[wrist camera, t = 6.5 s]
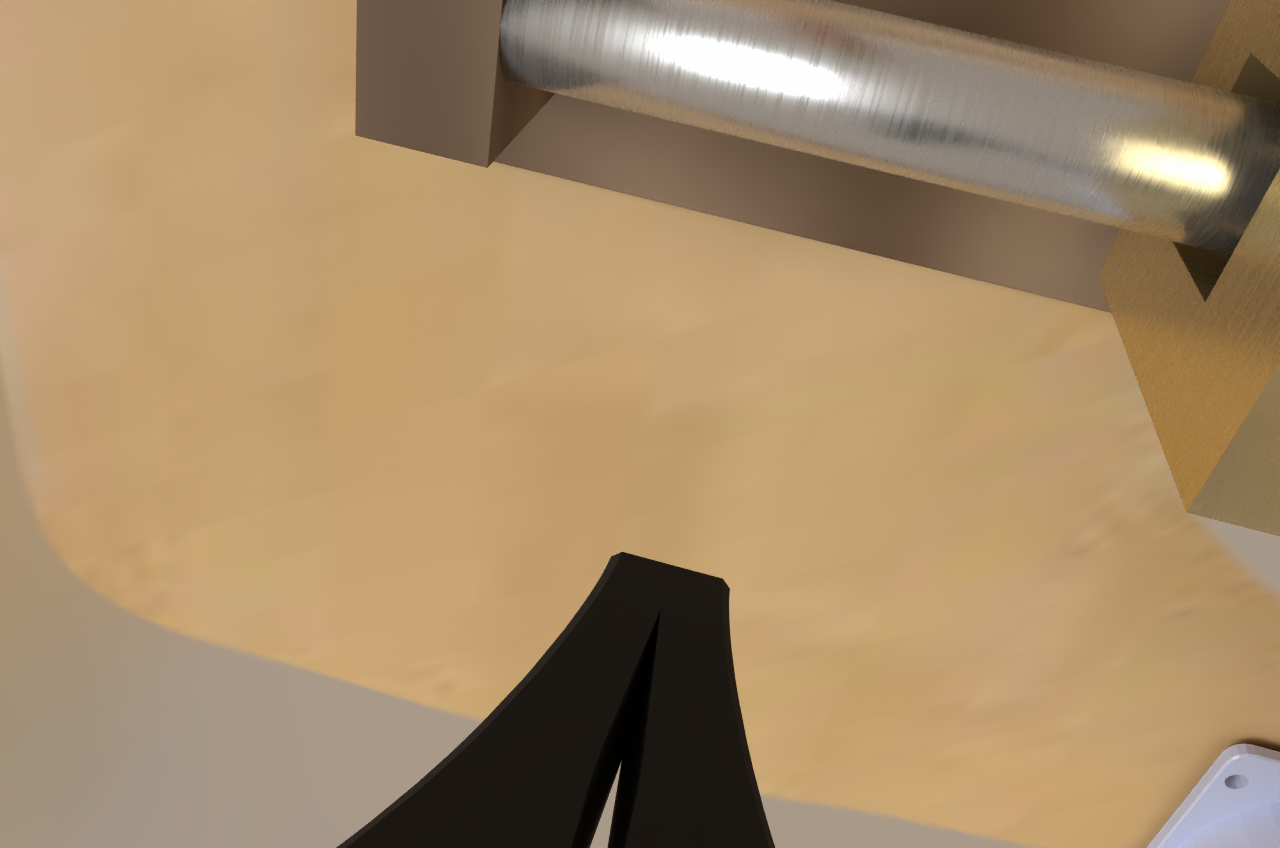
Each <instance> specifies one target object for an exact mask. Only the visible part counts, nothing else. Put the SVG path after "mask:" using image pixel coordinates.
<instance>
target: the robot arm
mask: <svg viewBox="0 0 1280 848" xmlns="http://www.w3.org/2000/svg"><path fill="white" fill-rule="evenodd" d="M729 592H730V588H729V587H728V585H727V584H726V583H725V581H724V580H723V579H721V578H718V577H714V576H710V575H707V574H703V573H699V572H695V571H692V570H688V569H684V568H681V567H677V566H673V565H669V564H666V563H662V562H658V561H654V560H651V559H647V558H643V557H640V556H636V555H632V554H628V553H625V552H621V553H619V554H616V555H614V556H611V558H610V560H609V562H608V564H607V566H606V568H605V570H604V572H603V574H602V576H601V577H600V579H599V581H598V582H597V584H596V586H595V587H594V589H593V590H592V592H591V593H590V595H589V596H588V598H587V599H586V601H585V602H584V604H583V605H582V606H581V608H580V609H579V610H578V612H577V613H576V614H575V616H574V617H573V619H572V620H571V621H570V623H569V624H568V625H567V627H566V628H565V629H564V631H563V632H562V633H561V634H560V635H559V637H558V638H557V639H556V640H555V642H554V643H553V644H552V645H551V646H550V648H549V649H548V650H547V651H546V652H545V654H544V655H543V656H542V657H541V659H540V660H539V661H538V662H537V663H536V665H535V666H534V667H533V668H532V669H531V671H530V672H529V673H528V674H527V675H526V676H525V677H524V679H523V680H522V681H521V682H520V683H519V684H518V685H517V686H516V687H515V688H514V689H513V690H512V691H511V692H510V693H509V695H508V696H507V697H506V698H505V699H504V700H503V701H502V702H501V703H500V704H499V705H498V706H497V707H496V708H495V709H494V710H493V712H492V713H491V714H490V715H489V716H488V717H487V718H486V719H485V720H484V721H483V722H482V723H481V724H480V725H479V726H478V727H477V728H476V729H475V730H474V731H473V732H472V733H471V734H470V735H469V736H468V737H467V738H466V739H465V740H464V741H463V742H462V743H461V744H460V745H459V746H458V747H457V748H455V749H454V750H453V751H452V752H451V753H450V754H449V755H448V756H447V757H446V758H445V759H444V760H442V761H441V762H440V763H439V764H438V765H437V766H436V767H435V768H434V769H432V770H431V771H430V772H429V773H428V774H427V775H426V776H425V777H424V778H422V779H421V780H420V781H419V782H418V783H417V784H415V785H414V786H413V787H412V788H411V789H410V790H408V791H407V792H406V793H405V794H403V795H402V796H401V797H400V798H399V799H397V800H396V801H395V802H394V803H393V804H391V805H390V806H389V807H388V808H386V809H385V810H384V811H383V812H382V813H381V814H379V815H378V816H377V817H376V818H374V819H373V820H372V821H371V822H369V823H368V824H367V825H365V827H363V828H362V829H360V830H359V831H358V832H357V833H355V834H354V835H353V836H351V837H350V838H349V839H347V840H346V841H345V842H344V843H342V844H341V845H339V846H338V847H337V848H590V845H591V843H592V840H593V837H594V834H595V832H596V829H597V826H598V823H599V821H600V818H601V815H602V812H603V810H604V807H605V804H606V801H607V799H608V796H609V793H610V791H611V788H612V785H613V782H614V780H615V777H616V774H617V771H618V768H619V766H620V763H621V769H620V774H619V780H618V787H617V793H616V799H615V805H614V811H613V817H612V824H611V830H610V836H609V843H608V848H775V846H774V843H773V839H772V836H771V833H770V829H769V826H768V822H767V819H766V816H765V812H764V809H763V805H762V801H761V797H760V793H759V790H758V786H757V782H756V778H755V774H754V770H753V766H752V762H751V757H750V753H749V749H748V745H747V740H746V734H745V729H744V724H743V719H742V714H741V709H740V704H739V699H738V693H737V686H736V680H735V674H734V665H733V657H732V649H731V638H730V624H729ZM621 760H622V762H621ZM1232 775H1234V776H1232ZM1146 848H1280V752H1278V751H1274V750H1271V749H1267V748H1263V747H1260V746H1256V745H1252V744H1244V743H1243V744H1235V745H1233V746H1230V747H1228V748H1227V749H1225V750H1224V751H1223V752H1222V753H1221V754H1220V756H1219V757H1218V758H1217V759H1216V761H1215V762H1214V763H1213V764H1212V766H1211V767H1210V768H1209V769H1208V771H1207V772H1206V773H1205V774H1204V776H1203V777H1202V778H1201V779H1200V781H1199V782H1198V783H1197V785H1196V786H1195V787H1194V788H1193V790H1192V791H1191V792H1190V793H1189V795H1188V796H1187V797H1186V798H1185V800H1184V801H1183V802H1182V803H1181V805H1180V806H1179V807H1178V808H1177V810H1176V811H1175V812H1174V813H1173V815H1172V816H1171V817H1170V818H1169V820H1168V821H1167V822H1166V824H1165V825H1164V826H1163V827H1162V829H1161V830H1160V831H1159V832H1158V834H1157V835H1156V836H1155V837H1154V839H1153V840H1152V841H1151V842H1150V844H1149V845H1148V846H1147V847H1146Z"/></svg>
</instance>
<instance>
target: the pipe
mask: <svg viewBox="0 0 1280 848" xmlns="http://www.w3.org/2000/svg"><path fill="white" fill-rule="evenodd" d="M499 57H500V66H501V71H502V74H503V77H504V79H505V80H506V81H507V82H511V83H515V84H519V85H523V86H528V87H532V88H536V89H540V90H544V91H549V92H553V93H557V94H561V95H565V96H569V97H574V98H578V99H582V100H586V101H590V102H594V103H599V104H603V105H607V106H611V107H615V108H619V109H624V110H628V111H632V112H636V113H640V114H645V115H649V116H653V117H657V118H661V119H665V120H670V121H674V122H678V123H682V124H686V125H690V126H695V127H699V128H703V129H707V130H711V131H715V132H720V133H724V134H728V135H732V136H736V137H741V138H745V139H749V140H753V141H757V142H761V143H766V144H770V145H774V146H778V147H782V148H786V149H791V150H795V151H799V152H803V153H807V154H812V155H816V156H820V157H824V158H828V159H832V160H837V161H841V162H845V163H849V164H853V165H857V166H862V167H866V168H870V169H874V170H878V171H882V172H887V173H891V174H895V175H899V176H903V177H908V178H912V179H916V180H920V181H924V182H928V183H933V184H937V185H941V186H945V187H949V188H953V189H958V190H962V191H966V192H970V193H974V194H978V195H983V196H987V197H991V198H995V199H999V200H1004V201H1008V202H1012V203H1016V204H1020V205H1024V206H1029V207H1033V208H1037V209H1041V210H1045V211H1049V212H1054V213H1058V214H1062V215H1066V216H1070V217H1074V218H1079V219H1083V220H1087V221H1091V222H1095V223H1100V224H1104V225H1108V226H1112V227H1116V228H1120V229H1125V230H1129V231H1133V232H1137V233H1141V234H1145V235H1150V236H1154V237H1158V238H1162V239H1166V240H1170V241H1175V242H1179V243H1183V244H1187V245H1191V246H1196V247H1200V248H1204V249H1208V250H1212V251H1216V252H1221V253H1225V254H1229V255H1232V254H1233V252H1234V250H1235V248H1236V246H1237V245H1238V243H1239V241H1240V239H1241V237H1242V236H1243V234H1244V232H1245V230H1246V228H1247V227H1248V225H1249V223H1250V221H1251V219H1252V218H1253V216H1254V214H1255V212H1256V210H1257V209H1258V207H1259V205H1260V203H1261V201H1262V200H1263V198H1264V196H1265V194H1266V192H1267V191H1268V189H1269V187H1270V185H1271V183H1272V182H1273V180H1274V178H1275V176H1276V174H1277V173H1278V171H1279V169H1280V103H1277V102H1273V101H1268V100H1264V99H1260V98H1255V97H1251V96H1247V95H1242V94H1238V93H1233V92H1229V91H1225V90H1220V89H1216V88H1212V87H1207V86H1203V85H1199V84H1194V83H1190V82H1185V81H1181V80H1177V79H1172V78H1168V77H1164V76H1159V75H1155V74H1151V73H1146V72H1142V71H1137V70H1133V69H1129V68H1124V67H1120V66H1116V65H1111V64H1107V63H1103V62H1098V61H1094V60H1090V59H1085V58H1081V57H1076V56H1072V55H1068V54H1063V53H1059V52H1055V51H1050V50H1046V49H1042V48H1037V47H1033V46H1028V45H1024V44H1020V43H1015V42H1011V41H1007V40H1002V39H998V38H994V37H989V36H985V35H981V34H976V33H972V32H967V31H963V30H959V29H954V28H950V27H946V26H941V25H937V24H933V23H928V22H924V21H919V20H915V19H911V18H906V17H902V16H898V15H893V14H889V13H885V12H880V11H876V10H871V9H867V8H863V7H858V6H854V5H850V4H845V3H841V2H837V1H832V0H503V6H502V13H501V22H500V34H499Z"/></svg>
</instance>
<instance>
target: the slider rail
mask: <svg viewBox="0 0 1280 848" xmlns="http://www.w3.org/2000/svg"><path fill="white" fill-rule="evenodd" d="M832 1H837V2H841V3H845V4H850V5H854V6H858V7H863V8H867V9H871V10H876V11H880V12H885V13H889V14H893V15H898V16H902V17H906V18H911V19H915V20H919V21H924V22H928V23H933V24H937V25H941V26H946V27H950V28H954V29H959V30H963V31H967V32H972V33H976V34H981V35H985V36H989V37H994V38H998V39H1002V40H1007V41H1011V42H1015V43H1020V44H1024V45H1028V46H1033V47H1037V48H1042V49H1046V50H1050V51H1055V52H1059V53H1063V54H1068V55H1072V56H1076V57H1081V58H1085V59H1090V60H1094V61H1098V62H1103V63H1107V64H1111V65H1116V66H1120V67H1124V68H1129V69H1133V70H1137V71H1142V72H1146V73H1151V74H1155V75H1159V76H1164V77H1168V78H1172V79H1177V80H1181V81H1185V82H1191V80H1192V78H1193V76H1194V74H1195V72H1196V70H1197V68H1198V66H1199V64H1200V62H1201V59H1202V57H1203V55H1204V53H1205V51H1206V49H1207V47H1208V45H1209V43H1210V41H1211V39H1212V36H1213V34H1214V32H1215V30H1216V28H1217V26H1218V24H1219V22H1220V20H1221V18H1222V16H1223V13H1224V11H1225V9H1226V7H1227V5H1228V3H1229V1H1230V0H832ZM502 6H503V0H357V41H356V130H355V135H356V136H360V137H364V138H368V139H372V140H377V141H381V142H385V143H389V144H393V145H397V146H401V147H405V148H409V149H413V150H417V151H421V152H425V153H429V154H434V155H438V156H442V157H446V158H450V159H454V160H458V161H462V162H466V163H470V164H474V165H478V166H482V167H486V168H488V167H489V165H490V164H491V163H492V162H493V161H494V162H498V163H502V164H506V165H511V166H515V167H519V168H523V169H527V170H531V171H535V172H539V173H543V174H547V175H551V176H555V177H560V178H564V179H568V180H572V181H576V182H580V183H584V184H588V185H592V186H596V187H600V188H604V189H609V190H613V191H617V192H621V193H625V194H629V195H633V196H637V197H641V198H645V199H649V200H653V201H657V202H662V203H666V204H670V205H674V206H678V207H682V208H686V209H690V210H694V211H698V212H702V213H706V214H711V215H715V216H719V217H723V218H727V219H731V220H735V221H739V222H743V223H747V224H751V225H755V226H760V227H764V228H768V229H772V230H776V231H780V232H784V233H788V234H792V235H796V236H800V237H804V238H809V239H813V240H817V241H821V242H825V243H829V244H833V245H837V246H841V247H845V248H849V249H853V250H857V251H862V252H866V253H870V254H874V255H878V256H882V257H886V258H890V259H894V260H898V261H902V262H906V263H911V264H915V265H919V266H923V267H927V268H931V269H935V270H939V271H943V272H947V273H951V274H955V275H960V276H964V277H968V278H972V279H976V280H980V281H984V282H988V283H992V284H996V285H1000V286H1004V287H1008V288H1013V289H1017V290H1021V291H1025V292H1029V293H1033V294H1037V295H1041V296H1045V297H1049V298H1053V299H1057V300H1062V301H1066V302H1070V303H1074V304H1078V305H1082V306H1086V307H1090V308H1094V309H1098V310H1102V311H1106V312H1111V309H1110V306H1109V304H1108V301H1107V298H1106V296H1105V293H1104V290H1103V288H1102V285H1101V282H1100V280H1099V277H1098V274H1099V272H1100V270H1101V268H1102V266H1103V264H1104V262H1105V260H1106V258H1107V256H1108V254H1109V252H1110V249H1111V247H1112V245H1113V243H1114V241H1115V239H1116V237H1117V235H1118V233H1119V231H1120V228H1116V227H1112V226H1108V225H1104V224H1100V223H1095V222H1091V221H1087V220H1083V219H1079V218H1074V217H1070V216H1066V215H1062V214H1058V213H1054V212H1049V211H1045V210H1041V209H1037V208H1033V207H1029V206H1024V205H1020V204H1016V203H1012V202H1008V201H1004V200H999V199H995V198H991V197H987V196H983V195H978V194H974V193H970V192H966V191H962V190H958V189H953V188H949V187H945V186H941V185H937V184H933V183H928V182H924V181H920V180H916V179H912V178H908V177H903V176H899V175H895V174H891V173H887V172H882V171H878V170H874V169H870V168H866V167H862V166H857V165H853V164H849V163H845V162H841V161H837V160H832V159H828V158H824V157H820V156H816V155H812V154H807V153H803V152H799V151H795V150H791V149H786V148H782V147H778V146H774V145H770V144H766V143H761V142H757V141H753V140H749V139H745V138H741V137H736V136H732V135H728V134H724V133H720V132H715V131H711V130H707V129H703V128H699V127H695V126H690V125H686V124H682V123H678V122H674V121H670V120H665V119H661V118H657V117H653V116H649V115H645V114H640V113H636V112H632V111H628V110H624V109H619V108H615V107H611V106H607V105H603V104H599V103H594V102H590V101H586V100H582V99H578V98H574V97H569V96H565V95H561V94H557V93H553V92H549V91H544V90H540V89H536V88H532V87H528V86H523V85H519V84H515V83H511V82H507V81H506V80H505V79H504V77H503V74H502V71H501V66H500V57H499V34H500V22H501V13H502ZM1111 313H1112V312H1111Z"/></svg>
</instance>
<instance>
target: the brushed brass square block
mask: <svg viewBox="0 0 1280 848" xmlns="http://www.w3.org/2000/svg"><path fill="white" fill-rule="evenodd" d="M1190 83H1194V84H1199V85H1203V86H1207V87H1212V88H1216V89H1220V90H1225V91H1229V92H1233V93H1238V94H1242V95H1247V96H1251V97H1255V98H1260V99H1264V100H1268V101H1273V102H1277V103H1280V0H1230V1H1229V3H1228V5H1227V7H1226V9H1225V11H1224V13H1223V16H1222V18H1221V20H1220V22H1219V24H1218V26H1217V28H1216V30H1215V32H1214V34H1213V36H1212V39H1211V41H1210V43H1209V45H1208V47H1207V49H1206V51H1205V53H1204V55H1203V57H1202V59H1201V62H1200V64H1199V66H1198V68H1197V70H1196V72H1195V74H1194V76H1193V78H1192V80H1191V82H1190ZM1098 277H1099V280H1100V282H1101V285H1102V288H1103V290H1104V293H1105V296H1106V298H1107V301H1108V304H1109V306H1110V309H1111V312H1112V314H1113V317H1114V320H1115V322H1116V325H1117V328H1118V330H1119V333H1120V336H1121V339H1122V341H1123V344H1124V347H1125V349H1126V352H1127V355H1128V357H1129V360H1130V363H1131V365H1132V368H1133V371H1134V373H1135V376H1136V379H1137V381H1138V384H1139V387H1140V389H1141V392H1142V395H1143V397H1144V400H1145V403H1146V406H1147V408H1148V411H1149V414H1150V416H1151V419H1152V422H1153V424H1154V427H1155V430H1156V432H1157V435H1158V438H1159V440H1160V443H1161V446H1162V448H1163V451H1164V454H1165V456H1166V459H1167V462H1168V464H1169V467H1170V470H1171V473H1172V475H1173V478H1174V481H1175V483H1176V486H1177V489H1178V491H1179V494H1180V497H1181V499H1182V502H1183V505H1184V507H1185V510H1186V512H1188V513H1191V514H1195V515H1199V516H1203V517H1207V518H1211V519H1215V520H1219V521H1223V522H1227V523H1231V524H1234V525H1238V526H1243V527H1246V528H1250V529H1254V530H1258V531H1262V532H1266V533H1269V534H1273V535H1277V536H1280V169H1279V171H1278V173H1277V174H1276V176H1275V178H1274V180H1273V182H1272V183H1271V185H1270V187H1269V189H1268V191H1267V192H1266V194H1265V196H1264V198H1263V200H1262V201H1261V203H1260V205H1259V207H1258V209H1257V210H1256V212H1255V214H1254V216H1253V218H1252V219H1251V221H1250V223H1249V225H1248V227H1247V228H1246V230H1245V232H1244V234H1243V236H1242V237H1241V239H1240V241H1239V243H1238V245H1237V246H1236V248H1235V250H1234V252H1233V254H1232V255H1229V254H1225V253H1221V252H1216V251H1212V250H1208V249H1204V248H1200V247H1196V246H1191V245H1187V244H1183V243H1179V242H1175V241H1170V240H1166V239H1162V238H1158V237H1154V236H1150V235H1145V234H1141V233H1137V232H1133V231H1129V230H1125V229H1120V231H1119V233H1118V235H1117V237H1116V239H1115V241H1114V243H1113V245H1112V247H1111V249H1110V252H1109V254H1108V256H1107V258H1106V260H1105V262H1104V264H1103V266H1102V268H1101V270H1100V272H1099V274H1098Z"/></svg>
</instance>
